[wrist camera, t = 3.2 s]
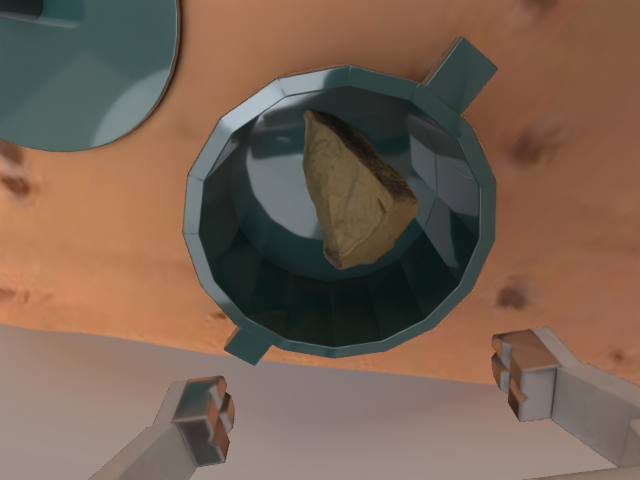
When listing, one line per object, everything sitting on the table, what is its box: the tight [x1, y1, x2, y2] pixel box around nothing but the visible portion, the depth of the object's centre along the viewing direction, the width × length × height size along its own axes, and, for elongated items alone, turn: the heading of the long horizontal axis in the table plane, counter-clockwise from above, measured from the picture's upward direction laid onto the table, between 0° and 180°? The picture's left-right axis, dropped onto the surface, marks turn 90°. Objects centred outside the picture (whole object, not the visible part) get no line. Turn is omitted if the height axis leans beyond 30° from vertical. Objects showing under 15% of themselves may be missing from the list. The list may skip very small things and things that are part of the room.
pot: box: [182, 37, 498, 366], centre depth 25 cm, size 17×22×8 cm
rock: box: [302, 109, 420, 270], centre depth 25 cm, size 11×9×10 cm
